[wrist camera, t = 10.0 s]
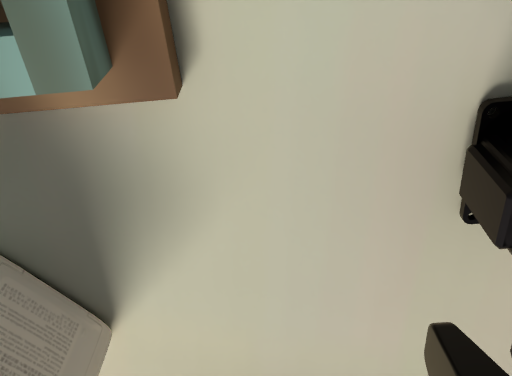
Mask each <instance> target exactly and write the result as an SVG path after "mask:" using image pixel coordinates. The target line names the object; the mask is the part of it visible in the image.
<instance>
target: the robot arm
mask: <svg viewBox="0 0 512 376" xmlns="http://www.w3.org/2000/svg"><path fill="white" fill-rule="evenodd" d="M495 107H496V110H495V112H494V113H492V114H490V115H488V112H489V110H490V109H492V108H495ZM459 194H460V196H461V197H462V202H461V208H460V216H461V218H462V219H463V221H464V222H465V223H467V224H480V225H481V226H482V228H483V229H484V231H485V232H486V234H487V235H488V237H489V238H490V239H491V241H492V242H493V244H494V245H495V246H497V247H498V248H499V249H508V250H509V252H510V253H511V254H512V97H504V98H493V99H488V100H486V101H485V102H483V103H482V104H481V105H480V107H479V109H478V114H477V119H476V125H475V130H474V136H473V141H472V145H471V146H470V147H469V148H468V149H467V152H466V158H465V163H464V169H463V175H462V180H461V186H460V192H459ZM471 212H472V213H473V214H472V215H469V214H470V213H471ZM510 352H511V356H512V345H511V349H510ZM424 356H425V363H426V367H427V371H428V375H429V376H509V375H508V374H507V373H506V372H505V371H504V370H503V369H502V368H501V367H500V366H498V365H497V364H496V363H495V362H494V361H493V360H492V359H491V358H490V357H489V356H488V355H487V354H486V353H485V352H483V351H482V350H481V349H480V348H479V347H478V346H477V345H476V344H475V343H474V342H473V341H472V340H471V339H470V338H468V337H467V336H466V335H465V334H464V333H463V332H462V331H461V330H460V329H459V328H458V327H457V326H456V325H454V324H453V323H450V322H442V323H432V324H430V325H429V327H428V332H427V338H426V344H425V350H424Z"/></svg>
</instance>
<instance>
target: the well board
mask: <svg viewBox="0 0 512 376" xmlns="http://www.w3.org/2000/svg"><path fill="white" fill-rule="evenodd" d="M181 88H182V81H181V76H180V70H179V65H178V60H177V54H176V49H175V44H174V38H173V33H172V28H171V22H170V17H169V12H168V6H167V1H166V0H0V114H8V113H20V112H31V111H42V110H53V109H65V108H76V107H87V106H98V105H109V104H121V103H132V102H143V101H154V100H166V99H177V98H178V95H179V93H180V90H181Z"/></svg>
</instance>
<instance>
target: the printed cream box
mask: <svg viewBox="0 0 512 376" xmlns="http://www.w3.org/2000/svg"><path fill="white" fill-rule="evenodd" d="M111 336H112V331H111V329H110V328H109V327H108V326H107V325H106V324H105V323H104V322H102V321H101V320H100V319H99V318H97V317H96V316H94V315H93V314H92V313H90V312H88V311H87V310H85V309H84V308H82V307H81V306H79V305H78V304H76V303H75V302H73V301H72V300H70V299H68V298H67V297H65V296H64V295H62V294H61V293H59V292H58V291H56V290H55V289H53V288H52V287H50V286H48V285H47V284H45V283H44V282H42V281H41V280H39V279H37V278H36V277H34V276H33V275H31V274H30V273H28V272H26V271H25V270H24V269H22V268H21V267H19V266H17V265H16V264H14V263H12V262H11V261H9V260H8V259H6V258H4V257H3V256H1V255H0V376H98V375H99V372H100V369H101V366H102V364H103V361H104V358H105V355H106V352H107V350H108V346H109V343H110V340H111Z"/></svg>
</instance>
